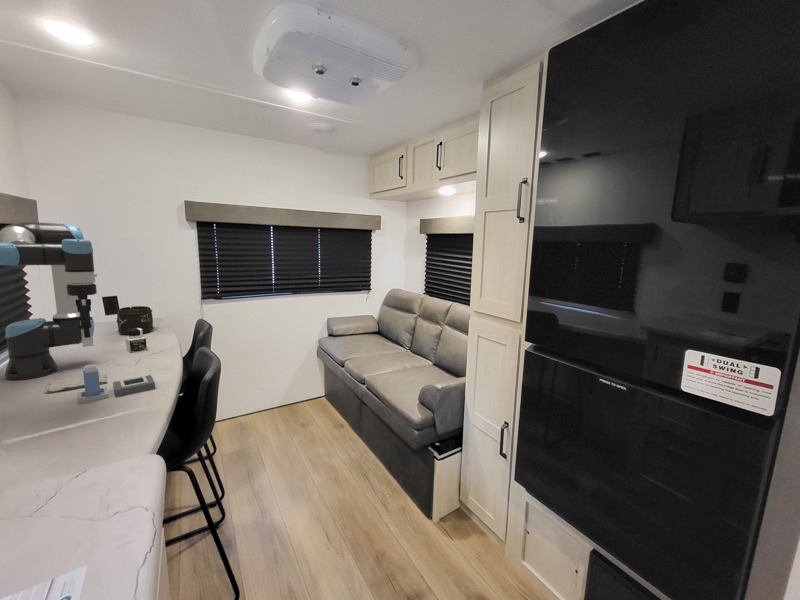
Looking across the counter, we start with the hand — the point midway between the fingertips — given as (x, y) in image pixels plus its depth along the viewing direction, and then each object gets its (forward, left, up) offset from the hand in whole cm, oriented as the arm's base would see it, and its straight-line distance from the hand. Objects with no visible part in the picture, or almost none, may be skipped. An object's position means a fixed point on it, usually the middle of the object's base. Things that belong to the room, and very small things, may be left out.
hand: (87, 341), depth 119 cm
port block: (+12, 0, -22) cm, 25 cm away
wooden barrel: (+23, +102, -23) cm, 107 cm away
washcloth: (-4, +18, -23) cm, 30 cm away
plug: (0, 0, -21) cm, 21 cm away
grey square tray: (0, 0, -22) cm, 22 cm away
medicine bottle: (+19, +59, -23) cm, 66 cm away
